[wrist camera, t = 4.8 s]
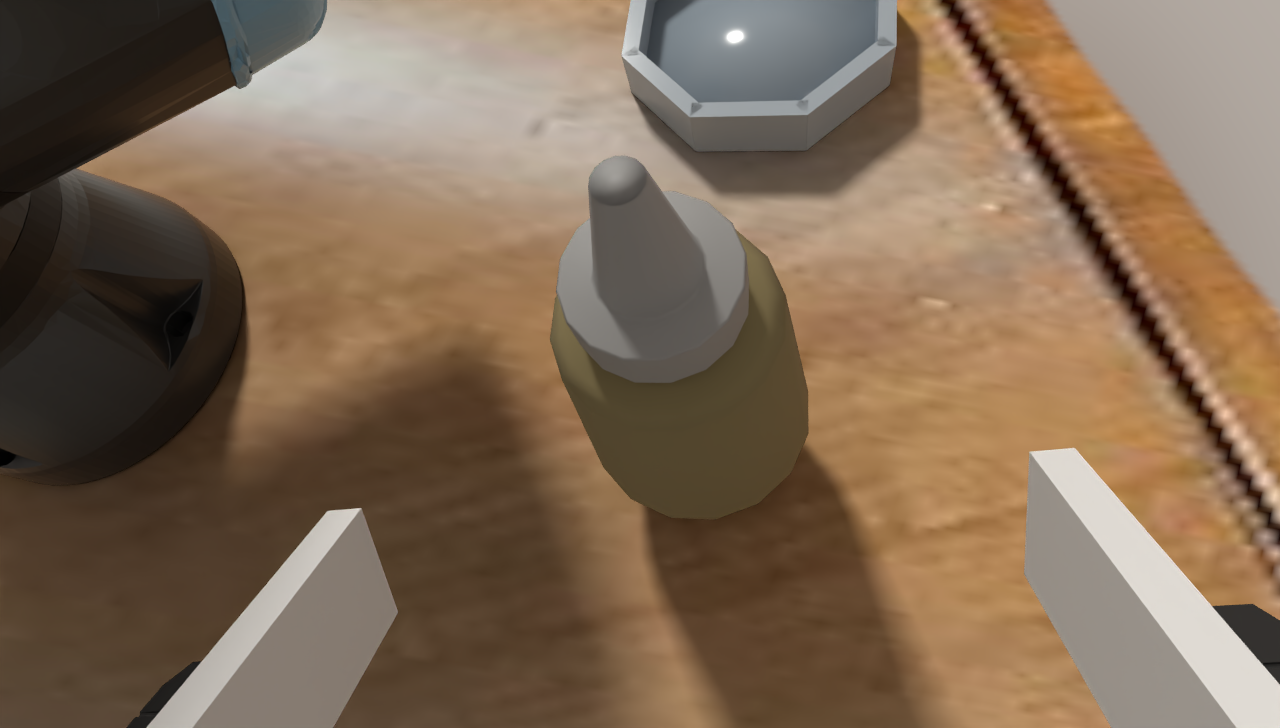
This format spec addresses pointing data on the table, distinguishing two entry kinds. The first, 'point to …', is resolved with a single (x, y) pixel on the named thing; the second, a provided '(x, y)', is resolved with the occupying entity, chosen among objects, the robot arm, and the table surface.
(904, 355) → the table surface
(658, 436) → the squeeze bottle
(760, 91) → the octagonal tray
